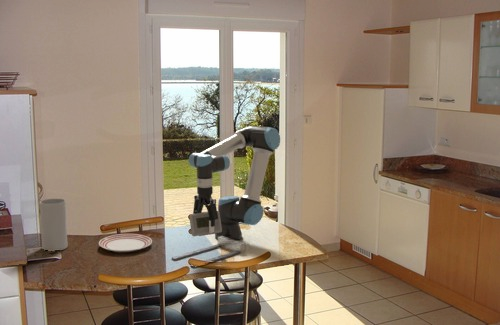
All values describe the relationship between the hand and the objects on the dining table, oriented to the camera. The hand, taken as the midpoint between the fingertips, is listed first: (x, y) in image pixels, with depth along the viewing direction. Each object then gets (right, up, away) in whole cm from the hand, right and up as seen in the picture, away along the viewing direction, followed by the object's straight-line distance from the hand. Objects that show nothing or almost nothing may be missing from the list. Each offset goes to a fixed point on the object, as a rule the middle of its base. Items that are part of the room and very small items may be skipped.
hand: (205, 230), depth 278 cm
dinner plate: (-43, -11, +16) cm, 48 cm away
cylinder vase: (-79, -11, +12) cm, 81 cm away
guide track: (+1, -13, +4) cm, 14 cm away
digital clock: (0, -2, 0) cm, 2 cm away
